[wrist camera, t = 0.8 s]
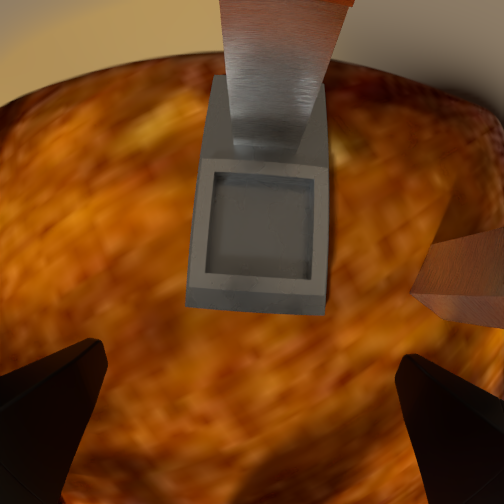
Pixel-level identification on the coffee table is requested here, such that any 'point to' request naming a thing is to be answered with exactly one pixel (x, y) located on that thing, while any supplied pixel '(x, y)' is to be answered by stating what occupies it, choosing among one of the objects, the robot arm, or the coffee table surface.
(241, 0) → the housing
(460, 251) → the post
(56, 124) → the coffee table surface
